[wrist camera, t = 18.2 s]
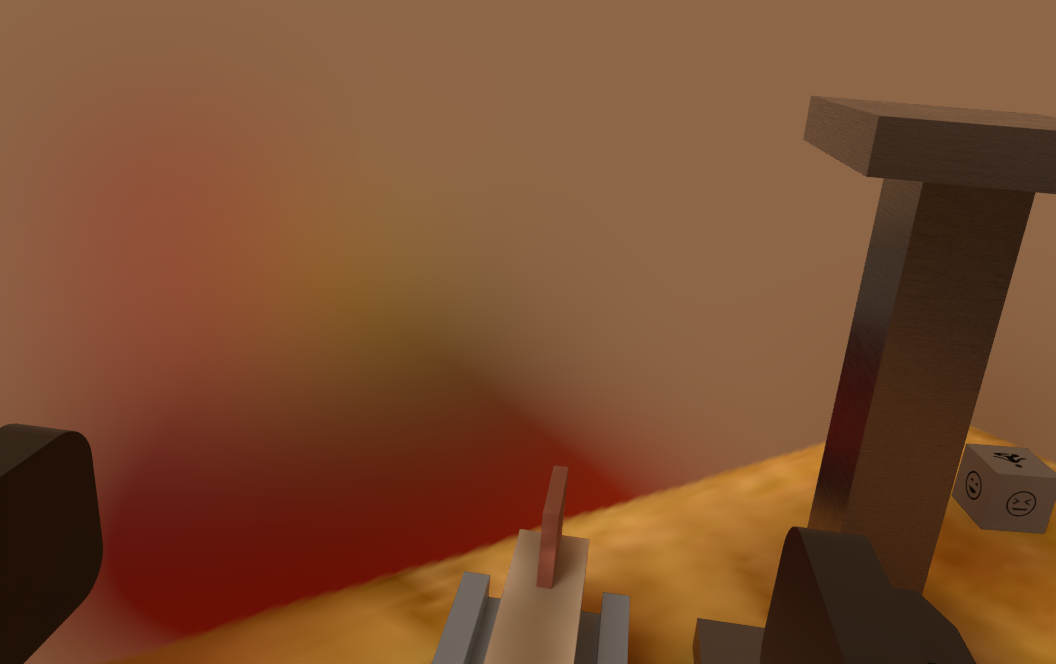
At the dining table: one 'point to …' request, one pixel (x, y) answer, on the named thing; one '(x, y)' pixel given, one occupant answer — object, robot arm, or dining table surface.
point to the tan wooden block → (542, 591)
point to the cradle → (476, 615)
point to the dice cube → (1005, 488)
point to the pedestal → (914, 321)
